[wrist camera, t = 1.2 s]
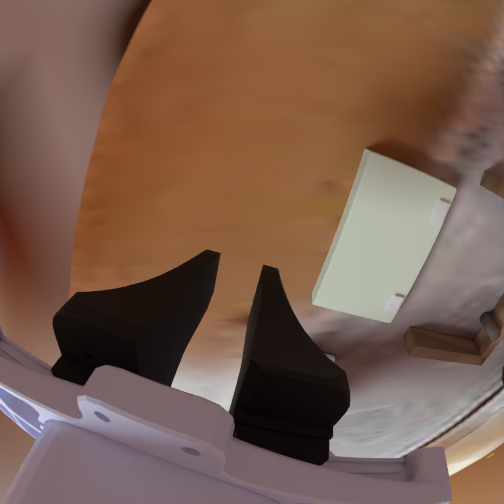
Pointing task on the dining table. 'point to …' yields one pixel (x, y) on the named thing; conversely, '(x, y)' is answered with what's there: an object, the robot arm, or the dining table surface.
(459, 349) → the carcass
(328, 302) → the door
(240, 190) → the dining table surface
